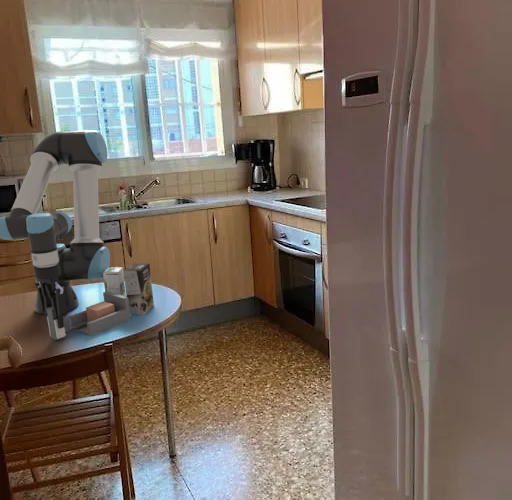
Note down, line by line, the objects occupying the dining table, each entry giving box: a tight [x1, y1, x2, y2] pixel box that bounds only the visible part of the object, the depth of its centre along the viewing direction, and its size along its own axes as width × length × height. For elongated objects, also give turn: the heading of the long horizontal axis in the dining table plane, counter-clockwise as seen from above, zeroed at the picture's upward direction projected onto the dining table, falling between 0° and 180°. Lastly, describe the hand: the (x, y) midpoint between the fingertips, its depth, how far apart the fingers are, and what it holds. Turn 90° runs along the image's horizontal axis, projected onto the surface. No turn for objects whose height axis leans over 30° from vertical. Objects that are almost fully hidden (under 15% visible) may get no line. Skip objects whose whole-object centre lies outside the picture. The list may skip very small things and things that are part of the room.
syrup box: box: [103, 266, 126, 296], centre depth 199 cm, size 6×6×14 cm
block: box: [46, 300, 115, 341], centre depth 179 cm, size 6×22×10 cm, turn 141°
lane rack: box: [67, 291, 132, 336], centre depth 185 cm, size 12×16×8 cm
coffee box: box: [123, 262, 155, 316], centre depth 194 cm, size 9×6×16 cm
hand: (57, 335), depth 174 cm, fingers closed on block, 3 cm apart
